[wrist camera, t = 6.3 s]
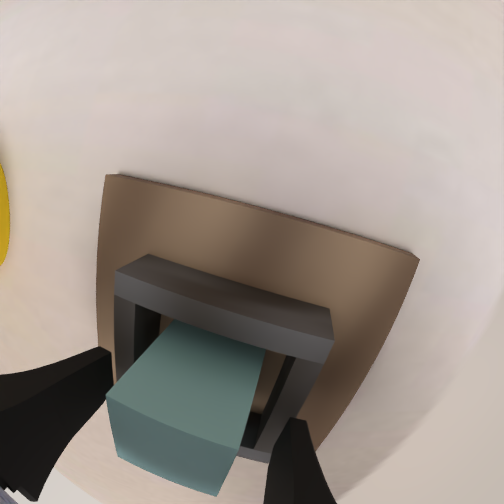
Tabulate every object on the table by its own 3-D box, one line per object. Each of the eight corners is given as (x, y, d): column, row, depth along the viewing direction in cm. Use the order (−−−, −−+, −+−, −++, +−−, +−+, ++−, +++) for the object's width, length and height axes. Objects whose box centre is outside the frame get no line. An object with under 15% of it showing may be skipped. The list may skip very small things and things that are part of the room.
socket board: (411, 253, 11) (446, 279, 7) (306, 452, 15) (303, 493, 11) (118, 174, 12) (68, 176, 9) (111, 384, 16) (84, 414, 13)
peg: (268, 338, 12) (238, 449, 6) (247, 399, 13) (216, 496, 7) (182, 310, 12) (105, 394, 6) (174, 374, 13) (117, 456, 7)
